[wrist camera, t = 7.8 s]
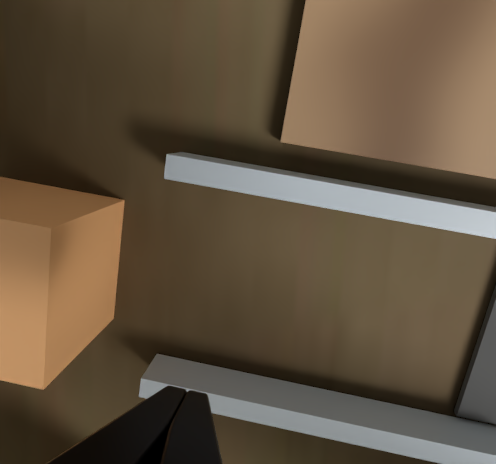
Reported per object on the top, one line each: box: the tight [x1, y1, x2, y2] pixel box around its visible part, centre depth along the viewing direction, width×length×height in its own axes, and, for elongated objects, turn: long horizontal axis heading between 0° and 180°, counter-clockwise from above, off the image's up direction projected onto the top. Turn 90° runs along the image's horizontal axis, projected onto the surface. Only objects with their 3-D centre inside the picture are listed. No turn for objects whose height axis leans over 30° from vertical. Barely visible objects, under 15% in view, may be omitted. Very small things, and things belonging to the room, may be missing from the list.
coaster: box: [280, 0, 496, 179], centre depth 13 cm, size 9×9×1 cm
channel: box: [139, 152, 496, 464], centre depth 15 cm, size 14×9×2 cm, turn 81°
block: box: [0, 177, 125, 390], centre depth 14 cm, size 5×5×5 cm
